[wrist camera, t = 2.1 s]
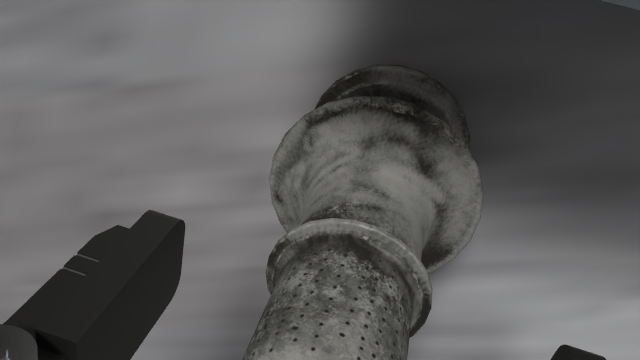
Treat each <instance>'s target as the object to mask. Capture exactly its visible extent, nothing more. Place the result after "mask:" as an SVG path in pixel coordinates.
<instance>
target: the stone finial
mask: <svg viewBox="0 0 640 360" xmlns="http://www.w3.org/2000/svg"><path fill="white" fill-rule="evenodd" d="M469 140H470V136H469V132H468V127H467V122H466V118H465V115H464V114H463V112H462V110H461V108H460V106H459V105H458V103H457V101H456V99H455V98H454V97H453V96H452V95H451V94H450V93H449V92H448V91H447V90H446V89H445V88H444V87H443V86H442V85H441V84H440V83H439V82H437V81H435V80H434V79H432V78H430V77H428V76H427V75H425V74H423V73H422V72H419V71H416V70H412V69H408V68H405V67H401V66H379V65H376V66H372V67H368V68H364V69H360V70H356V71H353V72H352V73H350V74H348V75H346V76H344V77H343V78H341V79H339V80H337V81H336V82H335V83H334V84H333V85H332V86H331V87H330V88H329V89H328V90H327V91H326V92H325V93H324V94H323V95H322V96H321V98H320V100H319V102H318V104H317V106H316V107H315V109H314V110H313V111H311V112H309V113H308V114H306V115H304V116H303V117H302V118H301V119H300V120H299V121H298V122H297V123H296V124H295V125H294V126H293V127H292V128H291V129H290V130H289V131H288V132H287V133H286V134H285V135H284V137H283V139H282V141H281V143H280V145H279V147H278V149H277V151H276V153H275V155H274V156H273V162H272V168H271V173H270V179H269V181H270V189H271V198H272V204H273V206H274V208H275V211H276V213H277V216H278V218H279V221H280V223H281V225H282V226H283V228H284V229H285V230H286V232H287V234H286V235H284V236H283V237H282V238H281V239H280V240H278V242H277V244H276V245H275V247H274V249H273V250H272V252H271V254H270V256H269V259H268V264H267V269H266V278H267V285H268V290H269V292H270V294H271V297H270V299H269V301H268V303H267V306H266V308H265V310H264V312H263V315H262V317H261V319H260V321H259V324H258V326H257V328H256V330H255V333H254V335H253V337H252V339H251V341H250V344H249V346H248V348H247V350H246V353H245V355H244V357H243V359H242V360H407V353H408V344H409V338H410V337H412V336H413V335H414V334H415V333H416V332H417V331H418V330H419V329H420V328H421V327H422V326H423V325H424V323H425V321H426V319H427V317H428V314H429V312H430V310H431V303H432V286H431V282H430V279H429V276H428V273H430V272H433V271H435V270H437V269H438V268H440V267H441V266H443V265H444V264H446V263H448V262H449V261H451V260H452V259H454V258H455V257H456V256H457V255H458V254H459V252H460V251H461V250H462V249H463V248H464V247H465V246H466V244H467V243H468V242H469V241H470V240H471V238H472V236H473V233H474V231H475V229H476V227H477V224H478V222H479V220H480V218H481V208H482V199H483V189H482V184H481V179H480V175H479V170H478V165H477V164H476V162H475V160H474V158H473V156H472V155H471V153H470V151H469Z"/></svg>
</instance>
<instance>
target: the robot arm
mask: <svg viewBox="0 0 640 360" xmlns="http://www.w3.org/2000/svg"><path fill="white" fill-rule="evenodd" d="M184 235H185V223H184V221H183V220H181V219H177V218H174V217H171V216H168V215H165V214H162V213H159V212H156V211H153V210H149V211H147V212H145V213H144V214H143V215H142V216H141V218H140V219H139V220H138V221H137V222H136V223H135V224H134V225H133V226H132V227H131V228H130V229H129V228H125V227H122V226H119V225H117V226H115V227H113V228H110V229H108V230H106V231H104V232H102V233H100V234H98V235H95V236H94V237H93V238H92V239H91V240H90V241H89V242H88V243H87V244H86V245H85V246H84V247H83V248H81V249H80V250H79V251H78V253H77V255H76V256H75V255H74V256H73V257H72V258H71V259H70V260H69V261H68V262H67V263H66V264H65V265H64V267H63V269H60V270H59V271H58V272H57V273H56V274H55V275H54V276H53V277H52V278H51V279H49V280H48V281H47V282H46V283H45V284H44V285H43V286H42V287H41V288H40V289H39V290H38V291H37V292H36V293H35V294H34V295H33V296H32V297H31V298H30V299H29V300H28V301H27V302H26V303H25V304H24V305H23V306H22V307H21V308H20V309H19V310H17V311H16V312H15V313H14V314H13V315H12V316H11V317H10V318H9V319H8V320H7V321H6V322H5V323H3V324H2V325H1V324H0V360H130V359H131V358H132V356H133V355H134V353H135V352H136V351H137V349H138V348H139V346H140V345H141V343H142V342H143V340H144V339H145V338H146V336H147V335H148V333H149V332H150V330H151V329H152V327H153V326H154V325H155V323H156V322H157V320H158V319H159V317H160V316H161V314H162V313H163V312H164V310H165V309H166V307H167V306H168V304H169V303H170V301H171V300H172V298H173V296H174V294H175V292H176V289H177V287H178V284H179V280H180V276H181V267H182V256H183V246H184ZM551 360H606V359H605V358H604V357H602V356H600V355H596V354H593V353H590V352H587V351H584V350H581V349H578V348H575V347H572V346H568V345H562V346H560V347H559V348H558V349H557V351H556V352H555V354H554V355H553V357H552V358H551Z"/></svg>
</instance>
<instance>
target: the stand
mask: <svg viewBox="0 0 640 360" xmlns="http://www.w3.org/2000/svg"><path fill="white" fill-rule="evenodd" d="M602 1H605V2H609V3H613V4H617V5H621V6H624V7H628V8H632V9H636V10H640V0H602Z"/></svg>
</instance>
